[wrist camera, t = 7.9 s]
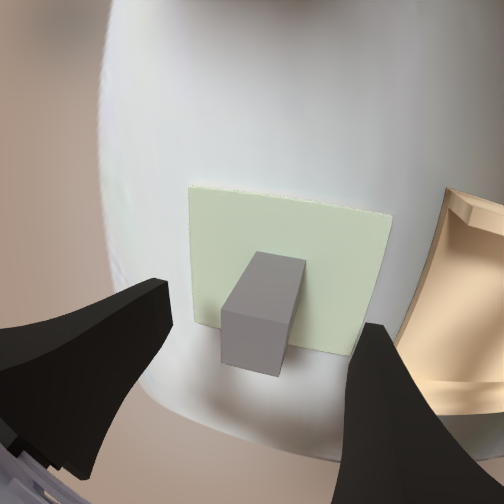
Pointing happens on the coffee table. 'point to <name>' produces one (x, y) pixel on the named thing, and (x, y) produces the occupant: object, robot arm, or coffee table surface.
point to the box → (459, 311)
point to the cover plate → (287, 233)
